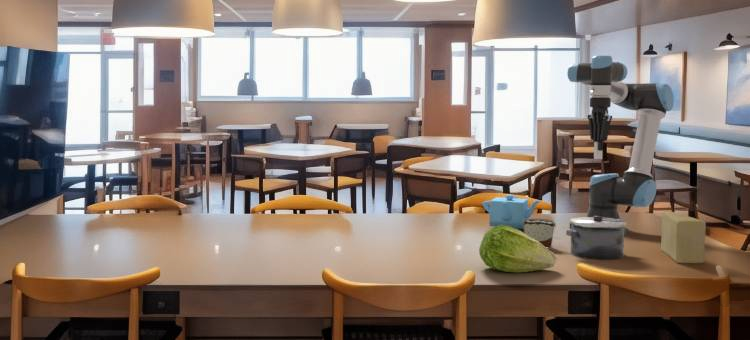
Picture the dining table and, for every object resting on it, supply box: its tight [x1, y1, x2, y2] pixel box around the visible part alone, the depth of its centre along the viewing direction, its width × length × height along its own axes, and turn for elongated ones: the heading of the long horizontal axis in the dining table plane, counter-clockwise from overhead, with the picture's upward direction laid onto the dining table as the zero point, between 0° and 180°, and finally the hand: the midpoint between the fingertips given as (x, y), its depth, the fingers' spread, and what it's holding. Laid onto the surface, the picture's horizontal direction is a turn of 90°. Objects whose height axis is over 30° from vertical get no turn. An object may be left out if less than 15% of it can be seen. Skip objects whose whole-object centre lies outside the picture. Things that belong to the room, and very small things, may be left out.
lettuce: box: [478, 225, 558, 273], centre depth 226 cm, size 15×24×16 cm
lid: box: [569, 216, 627, 228], centre depth 251 cm, size 20×19×4 cm
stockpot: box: [565, 223, 629, 261], centre depth 252 cm, size 20×23×10 cm
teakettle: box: [482, 194, 542, 230], centre depth 298 cm, size 19×19×15 cm
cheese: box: [660, 210, 707, 264], centre depth 248 cm, size 22×10×15 cm, turn 1°
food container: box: [522, 217, 557, 249], centre depth 265 cm, size 12×6×10 cm, turn 71°
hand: (598, 158), depth 269 cm, fingers closed
